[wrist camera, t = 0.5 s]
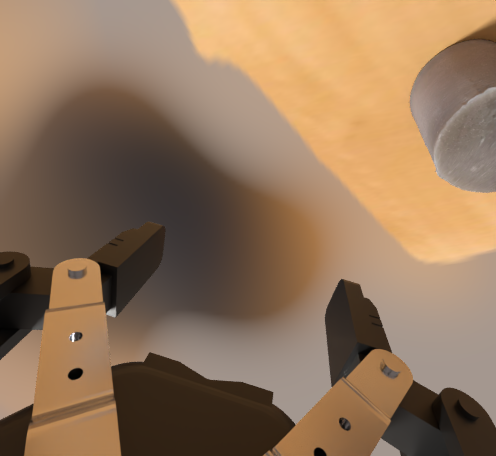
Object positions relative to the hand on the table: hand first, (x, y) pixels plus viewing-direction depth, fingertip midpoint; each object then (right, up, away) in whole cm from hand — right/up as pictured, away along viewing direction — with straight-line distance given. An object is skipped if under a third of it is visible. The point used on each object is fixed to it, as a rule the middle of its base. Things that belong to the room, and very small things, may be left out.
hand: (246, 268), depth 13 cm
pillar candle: (+24, +18, +20) cm, 36 cm away
